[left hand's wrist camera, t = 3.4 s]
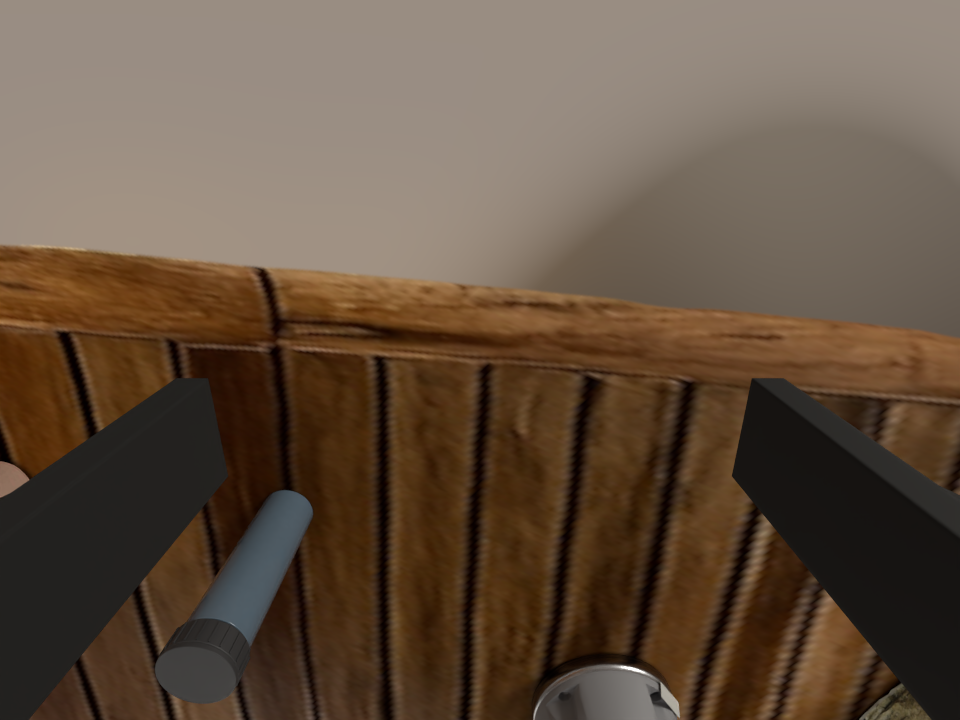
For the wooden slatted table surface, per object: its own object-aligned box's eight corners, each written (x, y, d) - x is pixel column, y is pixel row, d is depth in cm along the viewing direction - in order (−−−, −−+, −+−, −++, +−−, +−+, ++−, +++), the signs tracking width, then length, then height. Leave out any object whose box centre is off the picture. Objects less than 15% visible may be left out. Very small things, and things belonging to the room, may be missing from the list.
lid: (157, 646, 34) (137, 676, 32) (201, 604, 32) (183, 632, 30) (222, 685, 35) (206, 716, 33) (266, 645, 34) (253, 675, 32)
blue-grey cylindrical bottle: (253, 510, 47) (148, 669, 32) (283, 480, 46) (188, 631, 31) (293, 538, 48) (209, 704, 33) (323, 510, 47) (250, 669, 32)
